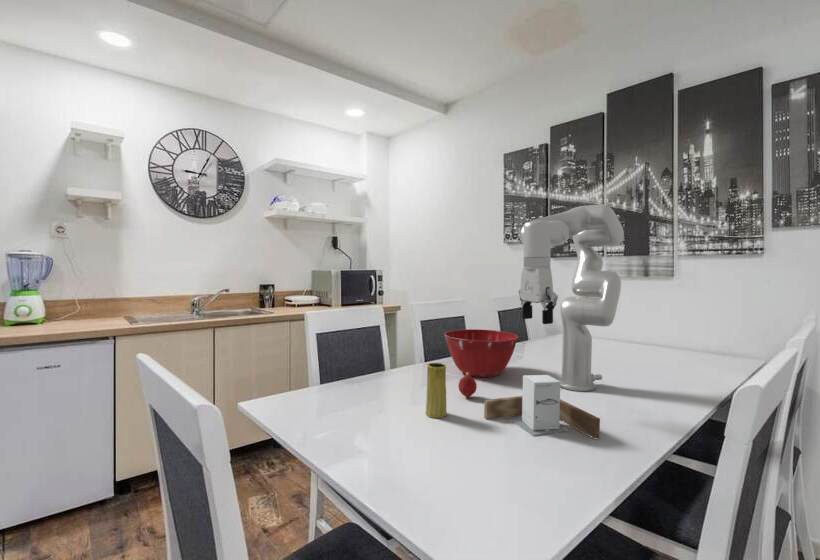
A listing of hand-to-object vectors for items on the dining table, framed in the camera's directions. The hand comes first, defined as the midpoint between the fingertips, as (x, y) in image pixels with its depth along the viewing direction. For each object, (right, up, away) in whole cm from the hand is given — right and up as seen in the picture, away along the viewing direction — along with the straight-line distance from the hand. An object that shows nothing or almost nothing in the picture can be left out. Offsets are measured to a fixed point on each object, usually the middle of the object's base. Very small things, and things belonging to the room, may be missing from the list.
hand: (537, 321), depth 123 cm
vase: (-30, -26, -5) cm, 40 cm away
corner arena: (-4, -27, -14) cm, 31 cm away
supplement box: (-3, -27, -13) cm, 30 cm away
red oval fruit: (-19, -26, +10) cm, 34 cm away
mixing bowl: (-10, -25, +41) cm, 49 cm away
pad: (-4, -27, -13) cm, 30 cm away
